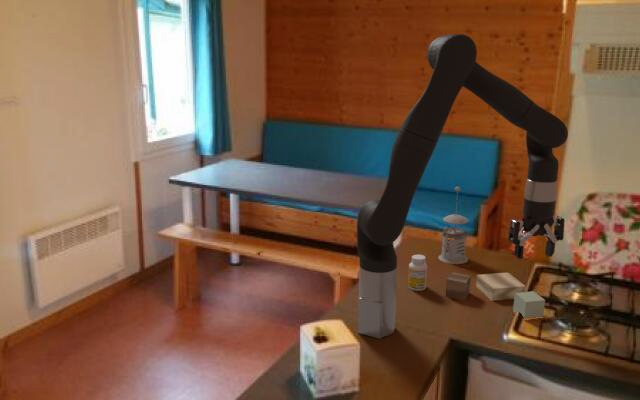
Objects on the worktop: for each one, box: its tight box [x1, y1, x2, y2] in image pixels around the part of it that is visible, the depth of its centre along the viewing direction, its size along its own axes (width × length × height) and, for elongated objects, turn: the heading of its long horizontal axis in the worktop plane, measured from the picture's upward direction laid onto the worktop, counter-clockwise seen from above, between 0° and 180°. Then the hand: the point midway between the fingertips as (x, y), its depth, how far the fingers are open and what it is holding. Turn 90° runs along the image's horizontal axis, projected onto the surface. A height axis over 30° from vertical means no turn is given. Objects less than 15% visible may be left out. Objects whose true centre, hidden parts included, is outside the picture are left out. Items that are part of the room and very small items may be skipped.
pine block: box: [475, 272, 526, 302], centre depth 166 cm, size 10×10×4 cm
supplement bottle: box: [407, 254, 428, 292], centre depth 168 cm, size 5×5×10 cm
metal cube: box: [445, 271, 472, 301], centre depth 164 cm, size 6×6×6 cm
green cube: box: [512, 290, 546, 319], centre depth 151 cm, size 6×6×6 cm
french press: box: [438, 186, 469, 265], centre depth 187 cm, size 10×12×25 cm
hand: (534, 256), depth 148 cm, fingers open, 8 cm apart
